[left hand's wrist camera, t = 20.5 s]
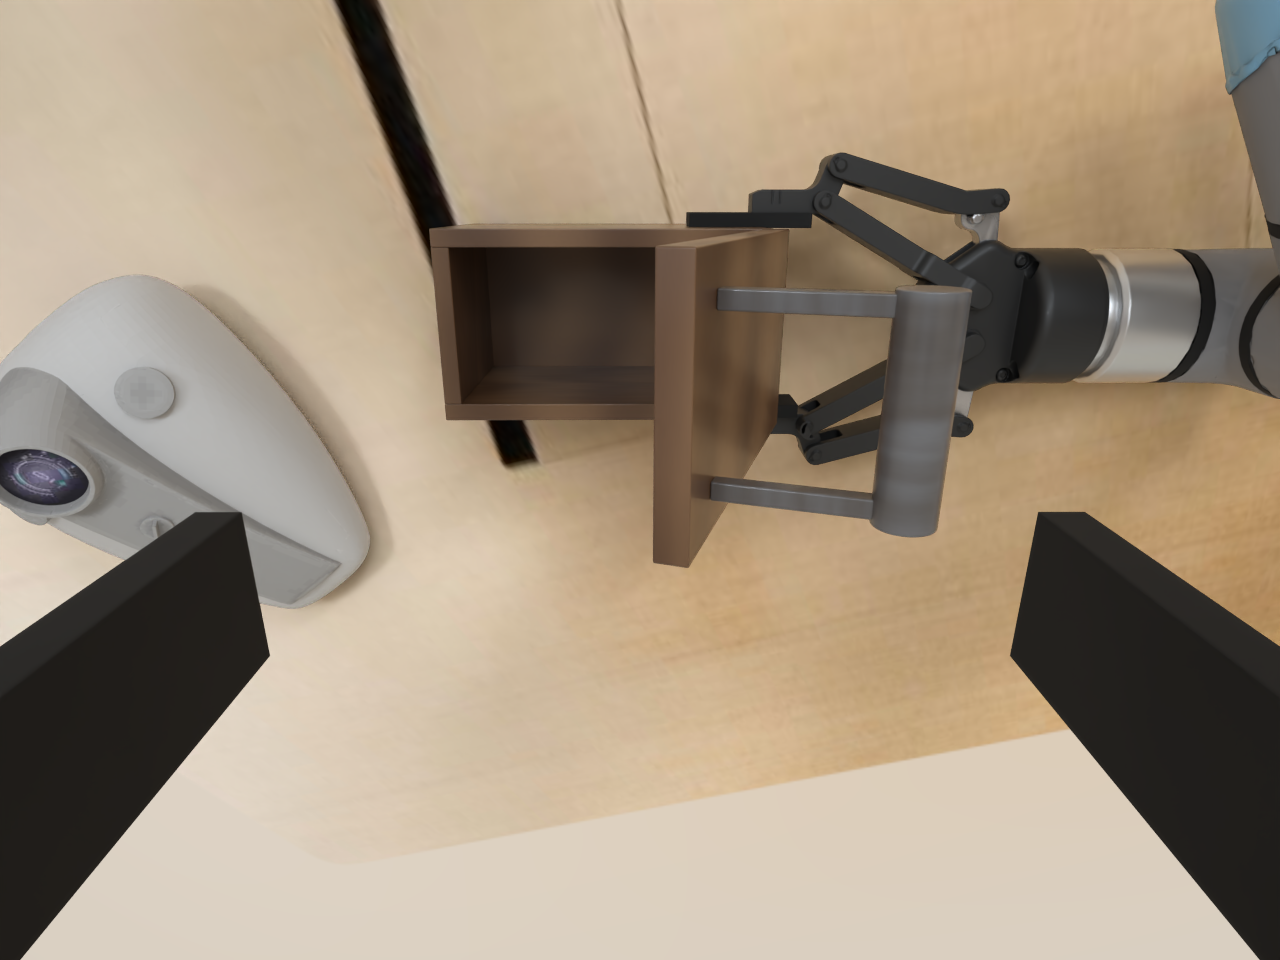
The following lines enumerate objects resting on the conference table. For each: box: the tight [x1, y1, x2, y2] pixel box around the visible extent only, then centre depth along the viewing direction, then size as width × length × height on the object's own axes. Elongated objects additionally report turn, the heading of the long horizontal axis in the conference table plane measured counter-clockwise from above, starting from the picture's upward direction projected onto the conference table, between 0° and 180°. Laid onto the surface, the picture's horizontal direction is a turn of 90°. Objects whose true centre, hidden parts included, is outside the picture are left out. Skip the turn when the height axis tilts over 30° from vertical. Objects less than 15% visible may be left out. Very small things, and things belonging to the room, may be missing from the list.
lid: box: [653, 229, 972, 568], centre depth 29 cm, size 18×10×8 cm
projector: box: [0, 275, 370, 609], centre depth 45 cm, size 22×23×15 cm
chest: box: [429, 224, 772, 420], centre depth 44 cm, size 17×10×11 cm, turn 90°
